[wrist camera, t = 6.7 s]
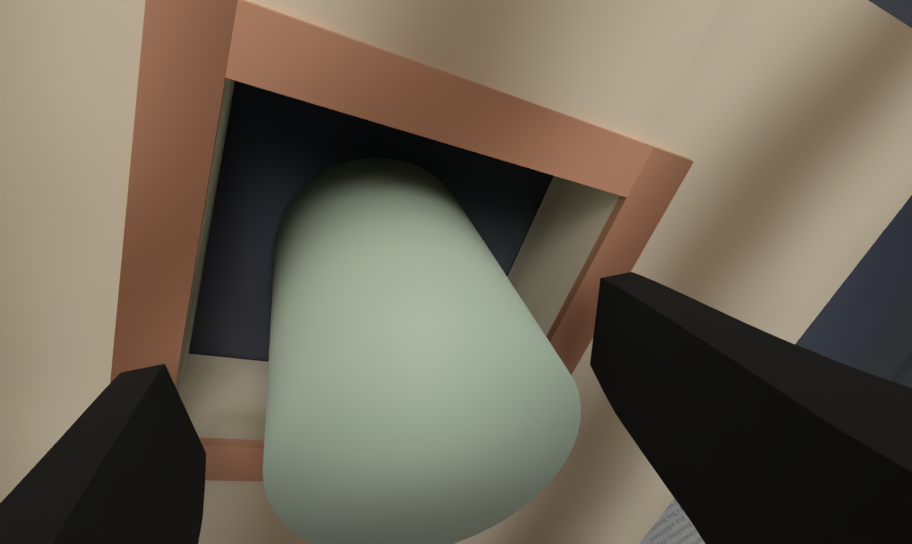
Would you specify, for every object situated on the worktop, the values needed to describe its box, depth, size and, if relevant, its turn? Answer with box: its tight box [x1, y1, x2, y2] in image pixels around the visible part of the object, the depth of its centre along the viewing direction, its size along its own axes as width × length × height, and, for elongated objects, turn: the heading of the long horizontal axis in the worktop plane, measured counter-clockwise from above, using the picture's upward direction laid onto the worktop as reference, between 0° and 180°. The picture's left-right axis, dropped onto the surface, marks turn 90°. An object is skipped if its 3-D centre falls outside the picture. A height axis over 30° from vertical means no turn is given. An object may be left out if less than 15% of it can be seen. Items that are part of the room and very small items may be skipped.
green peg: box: [263, 158, 581, 544], centre depth 10 cm, size 4×4×6 cm
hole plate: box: [0, 0, 912, 544], centre depth 11 cm, size 22×16×3 cm
